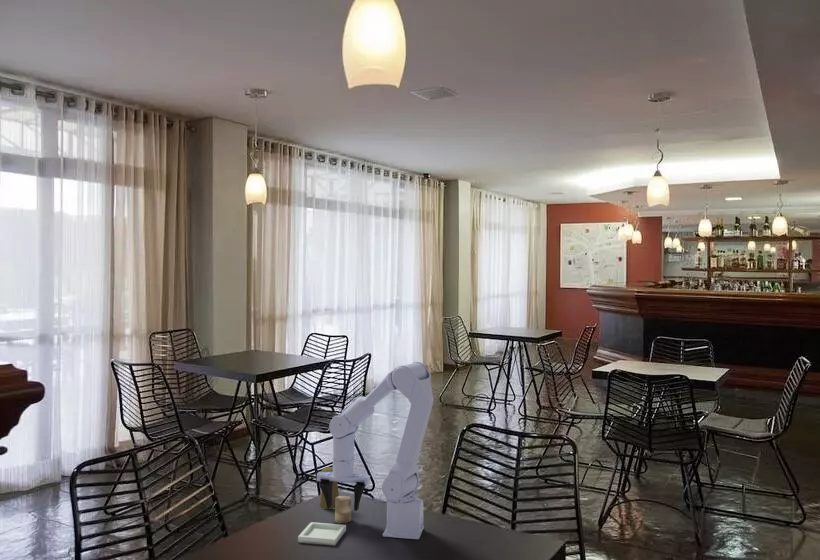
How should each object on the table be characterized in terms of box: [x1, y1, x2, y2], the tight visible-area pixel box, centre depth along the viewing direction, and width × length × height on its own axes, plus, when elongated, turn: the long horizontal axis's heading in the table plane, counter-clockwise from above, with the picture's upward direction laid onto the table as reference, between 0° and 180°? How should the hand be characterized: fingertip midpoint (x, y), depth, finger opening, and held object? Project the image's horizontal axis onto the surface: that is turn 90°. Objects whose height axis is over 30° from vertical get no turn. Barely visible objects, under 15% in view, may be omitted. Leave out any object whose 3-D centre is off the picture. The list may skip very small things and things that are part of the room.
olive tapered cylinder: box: [318, 466, 340, 510], centre depth 184 cm, size 6×6×11 cm
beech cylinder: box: [334, 495, 352, 524], centre depth 173 cm, size 4×4×6 cm
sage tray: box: [297, 521, 347, 547], centre depth 162 cm, size 10×10×2 cm
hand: (342, 508), depth 173 cm, fingers open, 7 cm apart
